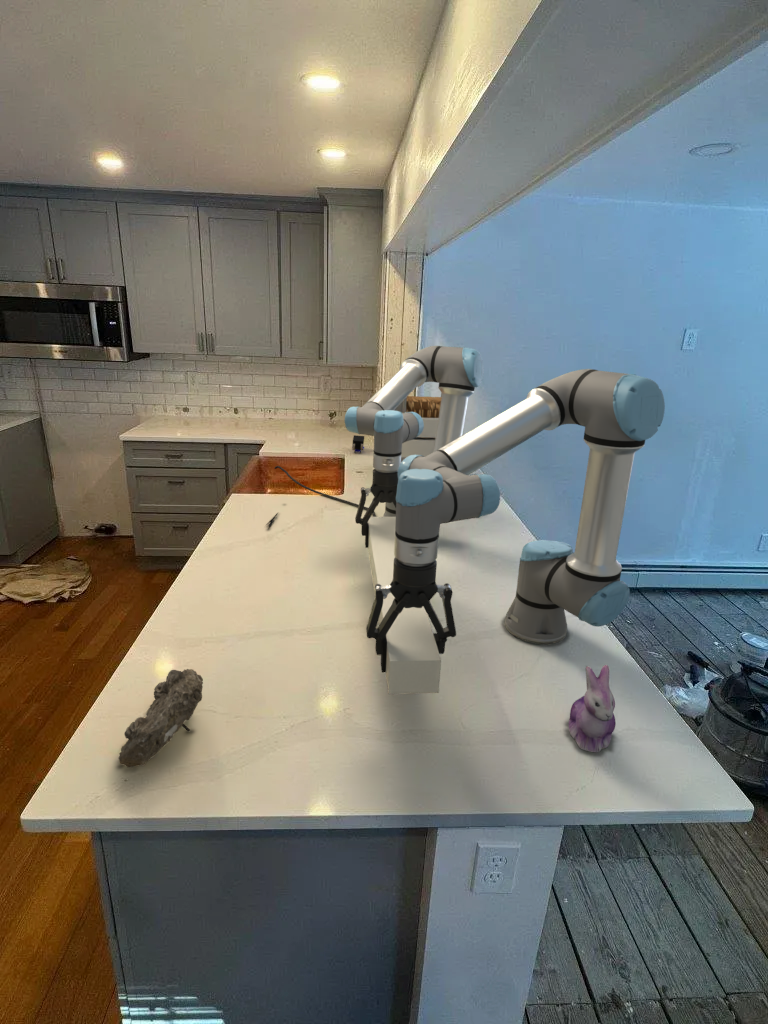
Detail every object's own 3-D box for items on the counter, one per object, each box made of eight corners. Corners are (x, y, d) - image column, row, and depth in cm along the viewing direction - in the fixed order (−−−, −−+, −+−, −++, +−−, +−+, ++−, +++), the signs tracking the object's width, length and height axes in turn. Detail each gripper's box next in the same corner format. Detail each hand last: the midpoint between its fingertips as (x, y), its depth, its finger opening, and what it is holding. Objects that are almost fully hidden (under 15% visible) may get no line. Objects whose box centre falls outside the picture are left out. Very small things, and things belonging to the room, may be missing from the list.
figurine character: (364, 456, 305) (364, 447, 319) (364, 443, 302) (364, 434, 315) (351, 456, 305) (352, 446, 318) (351, 443, 302) (352, 434, 315)
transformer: (382, 463, 289) (386, 382, 275) (445, 464, 293) (451, 384, 279) (390, 482, 257) (394, 392, 243) (460, 483, 261) (468, 394, 247)
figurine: (594, 762, 101) (608, 692, 96) (553, 726, 109) (565, 660, 104) (630, 746, 105) (646, 678, 100) (588, 712, 114) (601, 648, 109)
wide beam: (366, 538, 166) (367, 516, 164) (396, 538, 167) (397, 516, 165) (388, 694, 100) (389, 661, 97) (438, 693, 100) (441, 660, 98)
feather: (285, 507, 224) (287, 503, 224) (267, 531, 198) (270, 526, 197) (281, 504, 224) (284, 500, 223) (263, 528, 197) (265, 524, 197)
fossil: (153, 670, 114) (204, 637, 109) (187, 701, 117) (238, 670, 112) (92, 760, 94) (152, 726, 89) (135, 795, 97) (195, 763, 92)
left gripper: (346, 472, 148) (345, 551, 156) (428, 473, 150) (423, 551, 158) (346, 464, 155) (345, 540, 163) (424, 465, 157) (419, 540, 165)
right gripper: (353, 568, 94) (351, 681, 102) (481, 567, 96) (470, 678, 104) (352, 549, 101) (350, 656, 109) (471, 549, 103) (461, 654, 111)
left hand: (383, 545), depth 160 cm, fingers closed on wide beam, 9 cm apart
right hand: (408, 667), depth 106 cm, fingers closed on wide beam, 9 cm apart
